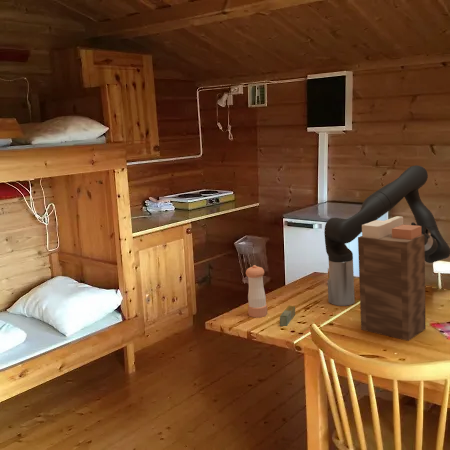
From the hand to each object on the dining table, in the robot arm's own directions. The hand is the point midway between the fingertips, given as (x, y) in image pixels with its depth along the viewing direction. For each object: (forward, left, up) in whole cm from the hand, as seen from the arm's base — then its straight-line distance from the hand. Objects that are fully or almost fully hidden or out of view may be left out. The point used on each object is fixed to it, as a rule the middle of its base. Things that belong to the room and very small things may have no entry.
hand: (400, 224), depth 191 cm
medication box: (-35, -22, -33) cm, 53 cm away
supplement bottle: (-36, +23, -33) cm, 54 cm away
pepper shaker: (-48, -21, -33) cm, 62 cm away
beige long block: (-2, -10, -1) cm, 10 cm away
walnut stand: (+2, -16, -33) cm, 36 cm away
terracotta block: (+7, -15, -1) cm, 17 cm away
